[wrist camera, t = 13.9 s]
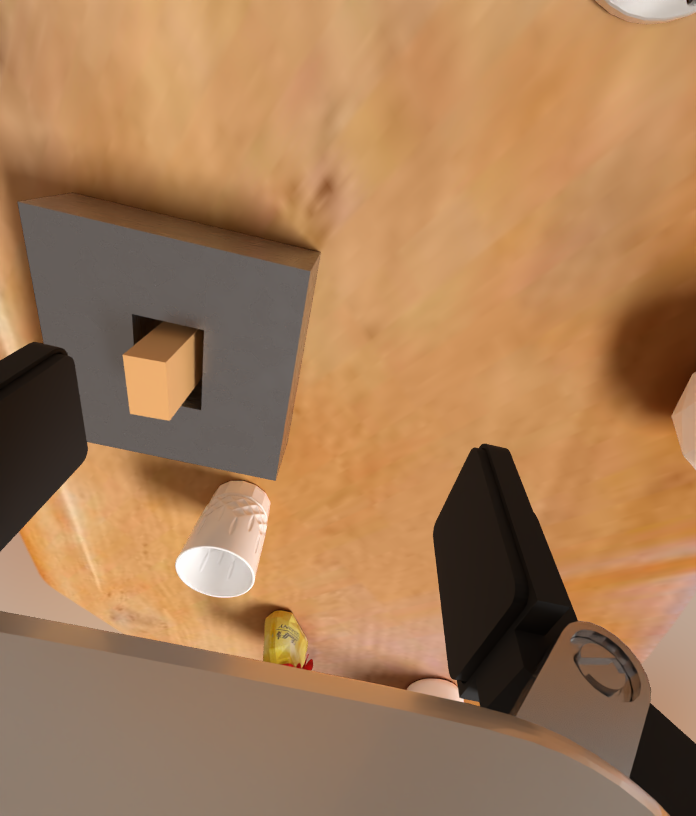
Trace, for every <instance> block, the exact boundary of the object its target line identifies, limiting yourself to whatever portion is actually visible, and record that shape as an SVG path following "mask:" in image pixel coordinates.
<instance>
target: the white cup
mask: <svg viewBox="0 0 696 816" xmlns="http://www.w3.org/2000/svg"><path fill="white" fill-rule="evenodd" d="M269 511H270V500H269V499H268V497H267V495H266V493H265V492H264V491H263V490H262V489H260V488H259V487H258V486H256V485H254V484H251V483H248V482H246V481H229V482H227V483H224V484H222V485H220V486H219V488H218V489H217V490H216V492H215V493H214V495H213V496H212V498H211V500H210V502H209V503H208V504H207V506H206V507H205V509H204V511H203V513H202V514H201V516H200V518H199V519H198V521H197V523H196V525H195V526H194V528H193V530H192V532H191V534H190V536H189V538H188V539H187V541H186V543H185V545H184V547H183V548H182V550H181V552H180V554H179V556H178V557H177V559H176V563H175V568H176V572H177V574H178V576H179V577H180V579H181V580H182V581H183V582H184V583H185V584H186V585H188V586H189V587H191V588H192V589H194V590H196V591H198V592H200V593H203V594H205V595H209V596H214V597H222V598H227V597H235V596H239V595H242V594H244V593H246V592H247V591H249V590H250V589H251V587H252V586H253V584H254V581H255V577H256V572H257V568H258V564H259V559H260V555H261V551H262V547H263V543H264V538H265V532H266V528H267V520H268V516H269Z"/></svg>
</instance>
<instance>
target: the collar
mask: <svg viewBox="0 0 696 816" xmlns="http://www.w3.org/2000/svg"><path fill="white" fill-rule="evenodd" d="M18 207H19V213H20V218H21V223H22V229H23V234H24V239H25V245H26V250H27V256H28V261H29V266H30V272H31V277H32V283H33V288H34V293H35V299H36V304H37V309H38V315H39V320H40V326H41V331H42V336H43V342H44V344H47V345H52V346H56V347H60V348H63V349H65V350H66V352H67V353H68V356H70V357H72V358H73V360H74V363H75V368H76V375H77V381H78V388H79V394H80V401H81V407H82V414H83V420H84V427H85V433H86V440H87V442H90V443H95V444H100V445H105V446H110V447H115V448H119V449H124V450H129V451H134V452H139V453H144V454H148V455H153V456H158V457H163V458H168V459H173V460H178V461H182V462H187V463H192V464H197V465H202V466H207V467H211V468H216V469H221V470H226V471H231V472H236V473H240V474H245V475H250V476H255V477H260V478H265V479H269V480H274V481H276V478H277V475H278V471H279V468H280V465H281V462H282V458H283V455H284V452H285V449H286V445H287V442H288V436H289V430H290V425H291V419H292V413H293V408H294V402H295V396H296V391H297V385H298V379H299V374H300V368H301V362H302V356H303V351H304V345H305V339H306V334H307V328H308V322H309V317H310V311H311V305H312V300H313V294H314V288H315V283H316V277H317V271H318V266H319V260H320V254H321V252H317V251H313V250H309V249H305V248H300V247H296V246H292V245H288V244H284V243H280V242H275V241H271V240H267V239H263V238H259V237H255V236H251V235H246V234H242V233H238V232H234V231H230V230H226V229H222V228H217V227H213V226H209V225H205V224H201V223H197V222H192V221H188V220H184V219H180V218H176V217H172V216H168V215H163V214H159V213H155V212H151V211H147V210H143V209H139V208H134V207H130V206H126V205H122V204H118V203H114V202H109V201H105V200H101V199H97V198H93V197H89V196H85V195H80V194H76V193H67V194H61V195H55V196H49V197H43V198H36V199H30V200H24V201H18ZM163 321H165V322H170V323H174V324H179V325H183V326H188V327H192V328H196V329H201V330H204V348H203V376H202V379H201V380H200V381H199V383H198V384H197V385H196V387H195V388H194V389H193V390H192V392H191V393H190V394H189V396H188V397H187V398H186V400H185V401H184V402H183V404H182V405H181V406H180V408H179V409H178V410H177V412H176V413H175V414H174V416H173V417H172V418H171V420H170V421H168V420H162V419H156V418H151V417H145V416H139V415H134V414H130V410H129V402H128V394H127V386H126V378H125V370H124V362H123V354H124V353H125V352H127V351H128V350H129V349H130V348H131V347H133V346H134V345H135V344H136V343H137V342H139V341H140V340H141V339H142V338H144V337H145V336H146V335H147V334H148V333H150V332H151V331H152V330H153V329H154V328H156V327H157V326H158V325H159V324H161V323H162V322H163Z"/></svg>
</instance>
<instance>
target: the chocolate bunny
mask: <svg viewBox="0 0 696 816" xmlns="http://www.w3.org/2000/svg"><path fill="white" fill-rule="evenodd" d="M264 633H265V634H264V651H263V661H264V662H269V663H274V664H280V665H285V666H290V667H295V668H300V669H305V670H310V671H311V670H312V668H313V660H312V659H311V660H309V661H308V663H307V664H306V660H307V658H306V660H305V654H306V651H307V646H308V641H307V639H306V636H305V635H304V633H303V631H302V630H301V628H300V626H299V625H298V623H297V621H296V619H295V617H294V615H293V613H291V612H287V611H283V610H280V611H274V612H273V613H271V614H270V615H269V616H268V617H267V618H265V629H264ZM308 655H309V654H308ZM307 657H308V656H307ZM305 664H306V665H305Z"/></svg>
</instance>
